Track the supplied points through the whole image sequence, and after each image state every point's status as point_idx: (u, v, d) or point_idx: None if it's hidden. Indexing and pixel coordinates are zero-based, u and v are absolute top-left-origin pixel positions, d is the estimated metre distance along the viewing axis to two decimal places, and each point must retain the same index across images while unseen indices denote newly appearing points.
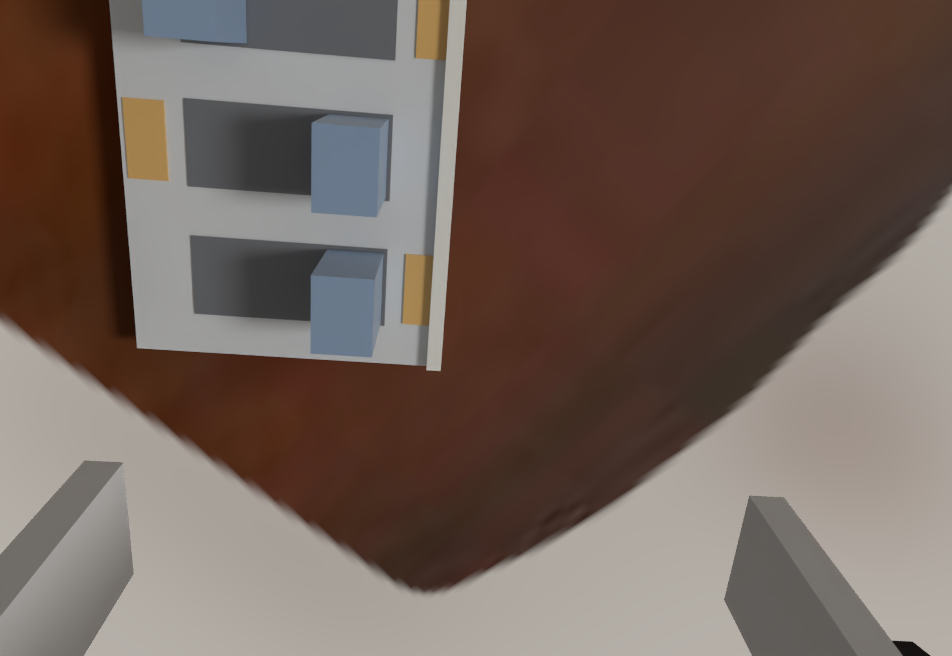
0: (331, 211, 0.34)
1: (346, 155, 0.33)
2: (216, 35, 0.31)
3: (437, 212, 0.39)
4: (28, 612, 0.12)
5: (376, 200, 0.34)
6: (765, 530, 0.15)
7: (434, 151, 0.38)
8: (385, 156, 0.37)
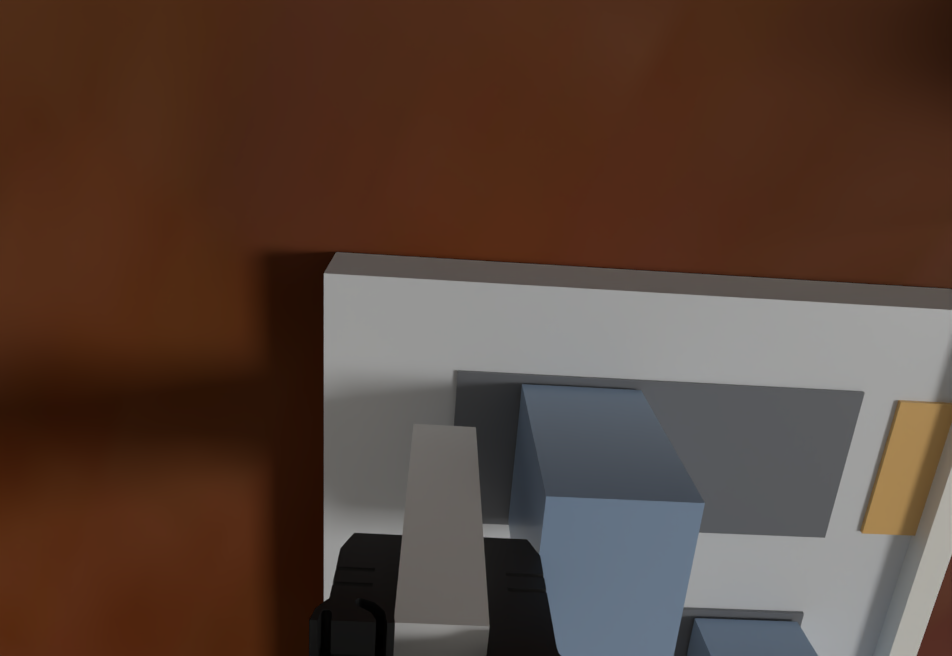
0: None
1: None
2: None
3: None
4: None
5: None
6: (443, 452, 0.17)
7: None
8: None
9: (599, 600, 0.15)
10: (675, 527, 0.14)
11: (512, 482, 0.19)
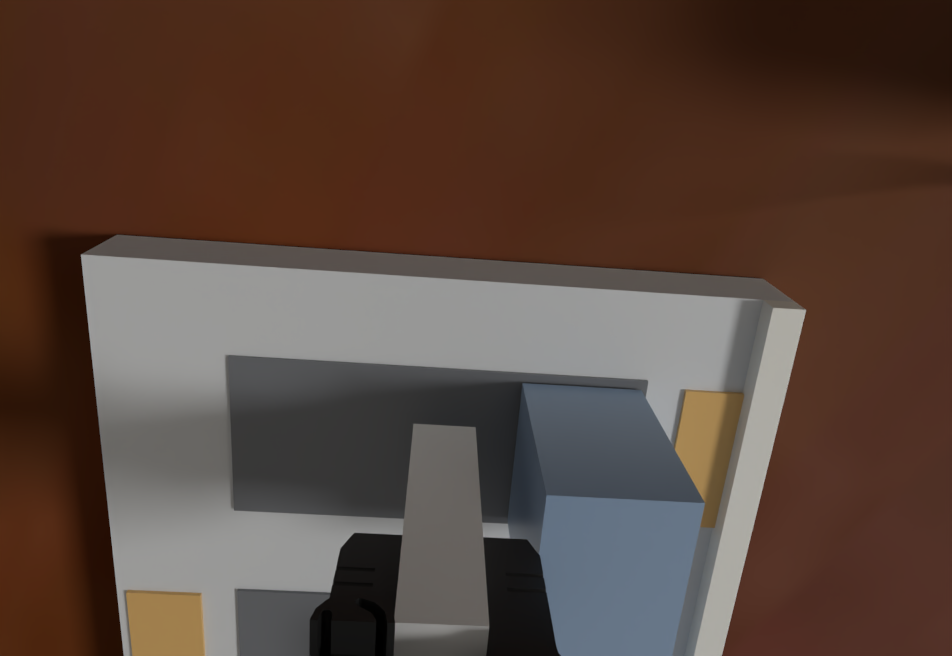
0: None
1: None
2: None
3: None
4: None
5: None
6: (443, 452, 0.17)
7: (675, 652, 0.22)
8: None
9: (598, 600, 0.15)
10: (675, 527, 0.14)
11: None
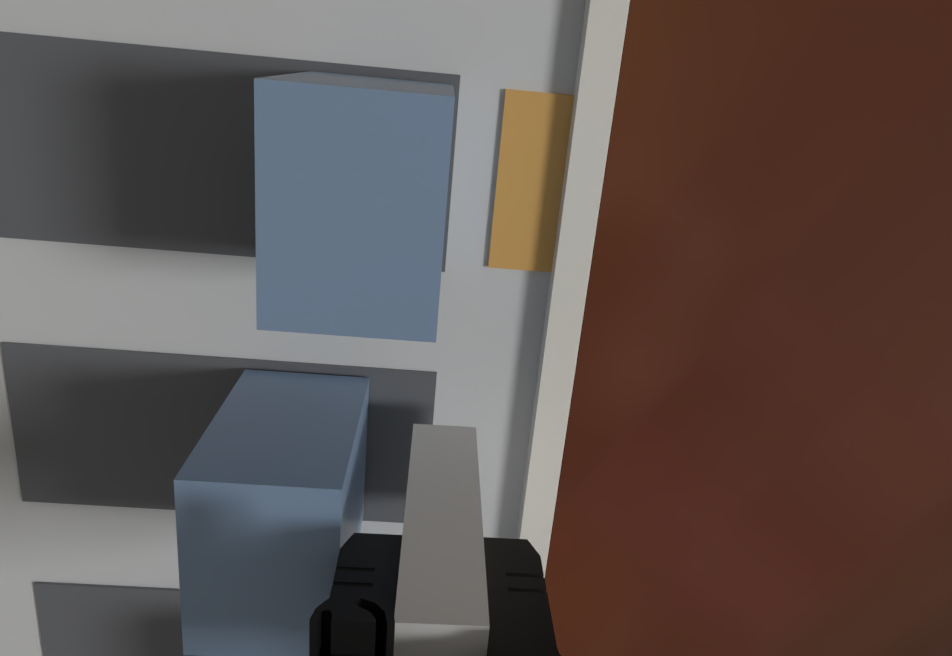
0: (230, 651, 0.15)
1: (262, 545, 0.14)
2: (436, 328, 0.13)
3: None
4: None
5: None
6: (443, 452, 0.17)
7: (518, 436, 0.19)
8: (361, 464, 0.18)
9: (337, 238, 0.12)
10: (421, 132, 0.11)
11: None
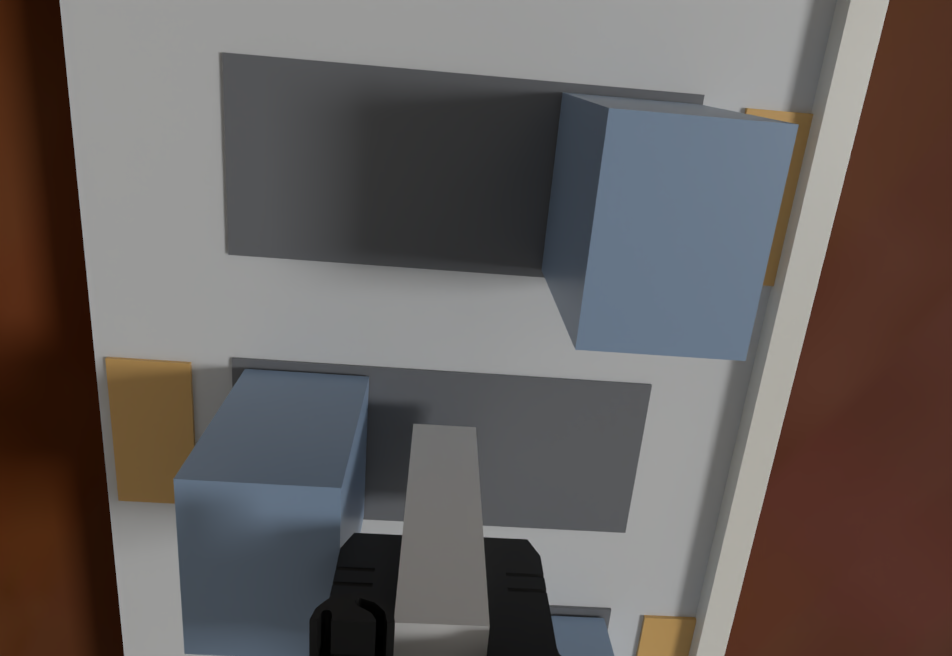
0: (231, 650, 0.15)
1: (262, 543, 0.14)
2: (747, 347, 0.13)
3: (721, 557, 0.20)
4: None
5: None
6: (443, 452, 0.17)
7: (723, 446, 0.20)
8: (361, 463, 0.18)
9: (665, 261, 0.12)
10: (761, 158, 0.12)
11: (547, 219, 0.17)
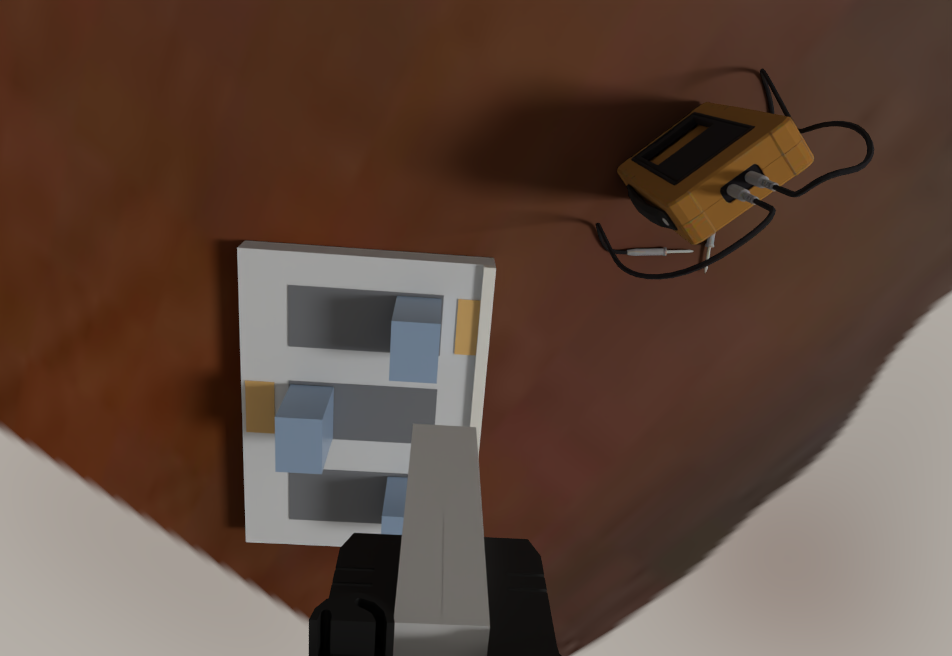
0: (289, 470, 0.49)
1: (299, 436, 0.48)
2: (436, 379, 0.47)
3: None
4: None
5: (321, 463, 0.49)
6: (443, 452, 0.17)
7: (466, 411, 0.53)
8: (330, 416, 0.52)
9: (410, 357, 0.46)
10: (432, 332, 0.46)
11: None
